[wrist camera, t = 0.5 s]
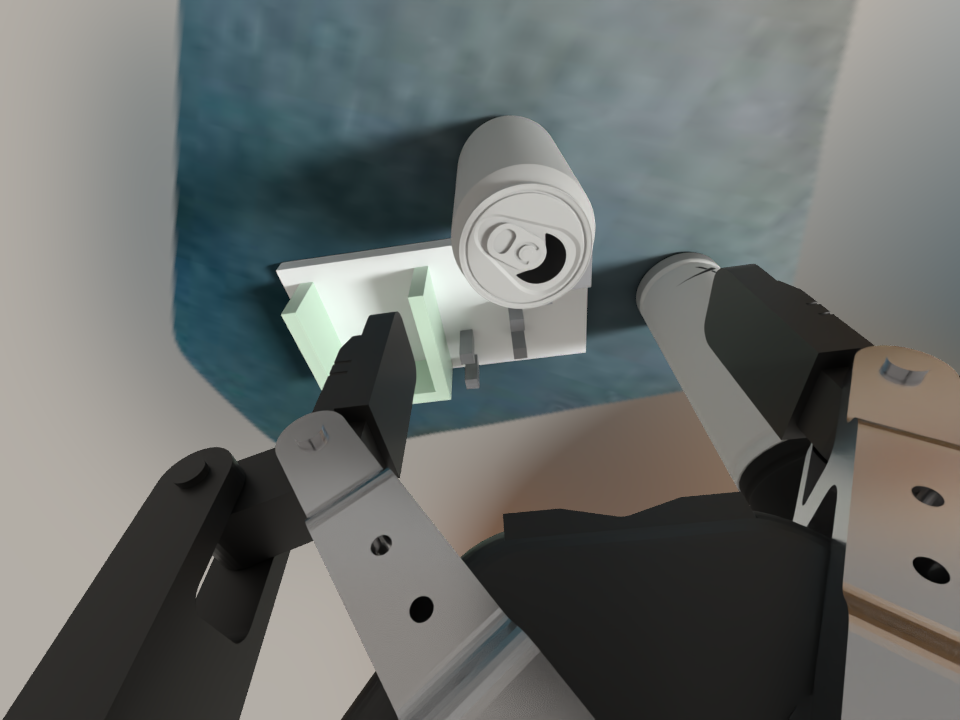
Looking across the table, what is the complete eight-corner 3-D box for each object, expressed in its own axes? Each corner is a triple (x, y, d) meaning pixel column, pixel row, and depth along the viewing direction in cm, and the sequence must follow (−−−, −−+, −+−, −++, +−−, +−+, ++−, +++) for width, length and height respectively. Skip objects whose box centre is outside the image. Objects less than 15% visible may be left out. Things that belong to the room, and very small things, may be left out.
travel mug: (684, 231, 30) (912, 471, 14) (734, 281, 32) (971, 529, 17) (615, 292, 33) (741, 542, 17) (666, 333, 35) (814, 581, 20)
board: (281, 262, 31) (259, 292, 27) (585, 218, 29) (599, 245, 26) (336, 373, 38) (323, 407, 34) (582, 343, 36) (593, 376, 33)
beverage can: (521, 234, 30) (543, 337, 20) (439, 188, 27) (424, 279, 18) (578, 149, 26) (636, 227, 17) (490, 88, 24) (501, 139, 15)
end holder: (299, 283, 30) (280, 314, 27) (428, 265, 30) (423, 295, 27) (345, 378, 37) (333, 412, 33) (452, 365, 36) (451, 399, 33)
